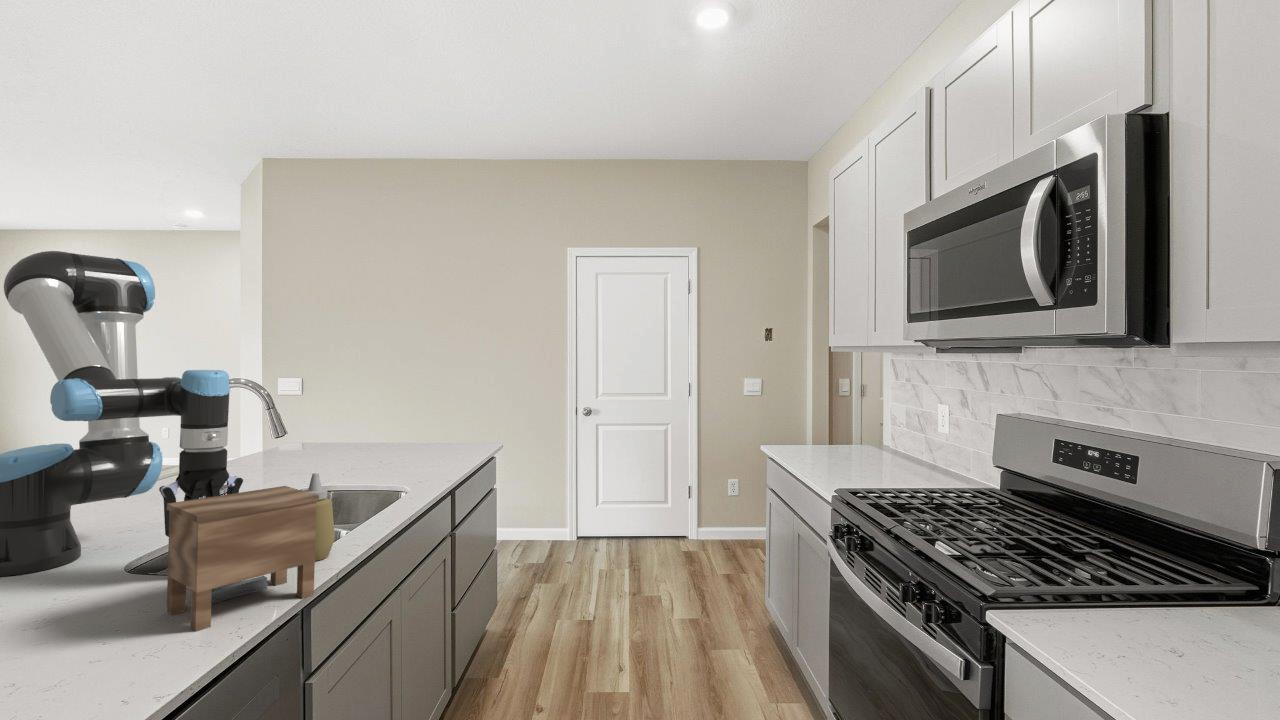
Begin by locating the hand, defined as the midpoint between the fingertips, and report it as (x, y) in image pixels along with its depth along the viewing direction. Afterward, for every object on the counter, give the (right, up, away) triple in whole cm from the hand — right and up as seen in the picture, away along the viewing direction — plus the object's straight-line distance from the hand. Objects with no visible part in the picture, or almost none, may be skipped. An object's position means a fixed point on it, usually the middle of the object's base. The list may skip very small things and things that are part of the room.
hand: (200, 568), depth 115 cm
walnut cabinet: (+17, -1, -13) cm, 21 cm away
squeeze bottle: (+16, -2, +11) cm, 20 cm away
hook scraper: (+7, -1, -5) cm, 8 cm away
